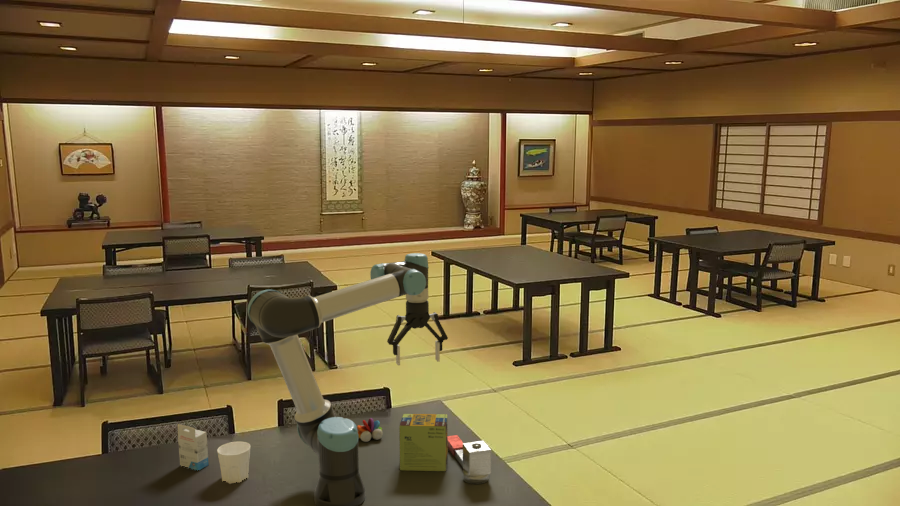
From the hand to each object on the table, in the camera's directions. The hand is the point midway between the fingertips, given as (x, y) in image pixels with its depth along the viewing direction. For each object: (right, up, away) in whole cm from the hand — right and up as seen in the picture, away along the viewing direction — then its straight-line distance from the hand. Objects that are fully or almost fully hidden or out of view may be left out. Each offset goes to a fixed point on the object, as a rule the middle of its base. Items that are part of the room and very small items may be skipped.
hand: (418, 362), depth 230 cm
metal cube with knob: (+19, -32, -13) cm, 40 cm away
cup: (-58, -35, -11) cm, 69 cm away
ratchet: (+16, -33, -1) cm, 37 cm away
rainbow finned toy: (-19, -31, +19) cm, 41 cm away
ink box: (-74, -34, -2) cm, 82 cm away
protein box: (+2, -34, -2) cm, 34 cm away
